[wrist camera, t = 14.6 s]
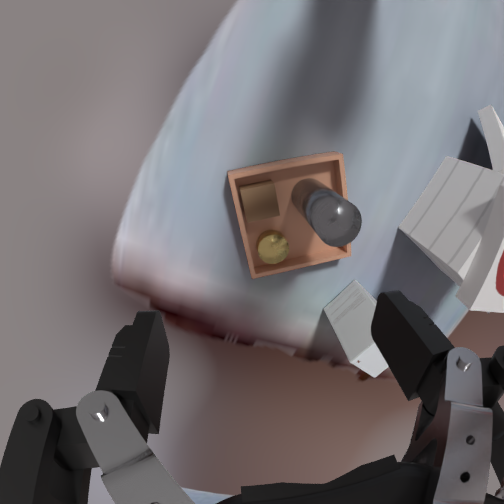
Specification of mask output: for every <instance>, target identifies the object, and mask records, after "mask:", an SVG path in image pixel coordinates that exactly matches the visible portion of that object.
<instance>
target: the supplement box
mask: <svg viewBox="0 0 504 504" xmlns="http://www.w3.org/2000/svg"><path fill="white" fill-rule="evenodd" d="M376 303H377V301H376V300H375V299H374V298H373V297H372V296H371V295H370V294H369V293H368V292H367V291H366V290H365V289H364V288H363V287H362V286H361V285H360V284H359V283H358V282H357V281H356V280H354V281H352V282H351V283H350V284H349V285H348V286H347V287H346V288H345V289H344V290H343V291H342V292H341V293H340V294H339V295H338V296H337V297H336V298H335V299H334V300H332V301H331V302H330V303H329V304H328V305H327V306H326V307H325V308H324V311H325V313H326V315H327V317H328V319H329V321H330V323H331V325H332V327H333V329H334V331H335V333H336V335H337V337H338V339H339V341H340V343H341V346H342V348H343V350H344V352H345V354H346V356H347V358H348V360H349V362H350V363H352V364H353V365H355V366H357V367H358V368H360V369H362V370H363V371H365V372H366V373H368V374H369V375H371V376H373V377H376V376H378V375H379V374H380V373H381V372H383V371H384V370H385V369H386V368H387V367H389V366H388V364H387V363H386V361H385V359H384V357H383V356H382V354H381V352H380V351H379V349H378V347H377V346H376V344H375V342H374V341H373V339H372V336H371V323H372V319H373V315H374V312H375V308H376Z"/></svg>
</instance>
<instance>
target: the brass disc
mask: <svg viewBox="0 0 504 504" xmlns="http://www.w3.org/2000/svg"><path fill="white" fill-rule="evenodd" d="M256 247H257V251H258V254H259V257H260V258H261V259H262V260H263V261H264V262H266V263H269V264H276V263H279V262H281V261H283V260H284V259H285V258H286V257H287V255H288V253H289V244H288V242H287V240H286V239H285V237H284V235H283V234H282V233H281V232H279V231H277V230H267V231H264V232H263V233H261V234H260V235H259V237H258V239H257V241H256Z"/></svg>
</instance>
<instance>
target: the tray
mask: <svg viewBox="0 0 504 504" xmlns="http://www.w3.org/2000/svg"><path fill="white" fill-rule="evenodd" d="M228 178H229V183H230V187H231V191H232V196H233V200H234V204H235V209H236V213H237V217H238V222H239V226H240V230H241V235H242V239H243V243H244V247H245V252H246V256H247V260H248V265H249V269H250V273H251V277H252V279H255V278H259V277H264V276H268V275H273V274H277V273H281V272H286V271H290V270H294V269H299V268H303V267H307V266H312V265H316V264H320V263H324V262H328V261H332V260H337V259H341V258H345V257H349V256H351V242H350V243H349V244H347V245H344V246H341V247H332V246H329V245H327V244H325V243H324V242H323V241H322V240H321V239H320V238H319V236H318V235H317V234H316V232H315V231H314V230H313V229H312V227H311V226H310V225H309V224H308V222H307V221H306V220H305V218H304V217H303V216H302V215H301V213H300V212H299V211H298V210H297V208H296V207H295V206H294V204H293V202H292V199H291V194H292V190H293V188H294V186H295V185H296V184H297V183H298V182H299V181H300V180H302V179H305V178H313V179H316V180H318V181H320V182H321V183H323V184H324V185H326V186H327V187H329V188H330V189H332V190H333V191H334V192H336V193H337V194H339V195H340V196H342V197H343V198H345V199H346V200H348V197H347V187H346V177H345V168H344V160H343V154H341V153H338V152H334V151H333V152H326V153H320V154H313V155H307V156H301V157H295V158H290V159H284V160H279V161H274V162H268V163H263V164H258V165H253V166H249V167H244V168H239V169H235V170H230V171H228ZM266 180H272V181H273V182H274V184H275V189H276V195H277V201H278V206H279V212H280V216H276V217H271V218H266V219H262V220H257V221H253V222H248V223H247V219H246V215H245V211H244V206H243V201H242V197H241V192H240V188H239V186H242V185H247V184H251V183H256V182H261V181H266ZM267 230H277V231H279V232H281V233H282V234H283V235H284V237H285V239H286V240H287V242H288V244H289V253H288V255H287V257H286V258H285V259H284V260H283V261H281V262H279V263H276V264H269V263H266V262H264V261H263V260H262V259H261V258H260V257H259V254H258V251H257V247H256V241H257V239H258V237H259V235H260V234H261V233H263V232H264V231H267Z"/></svg>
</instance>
